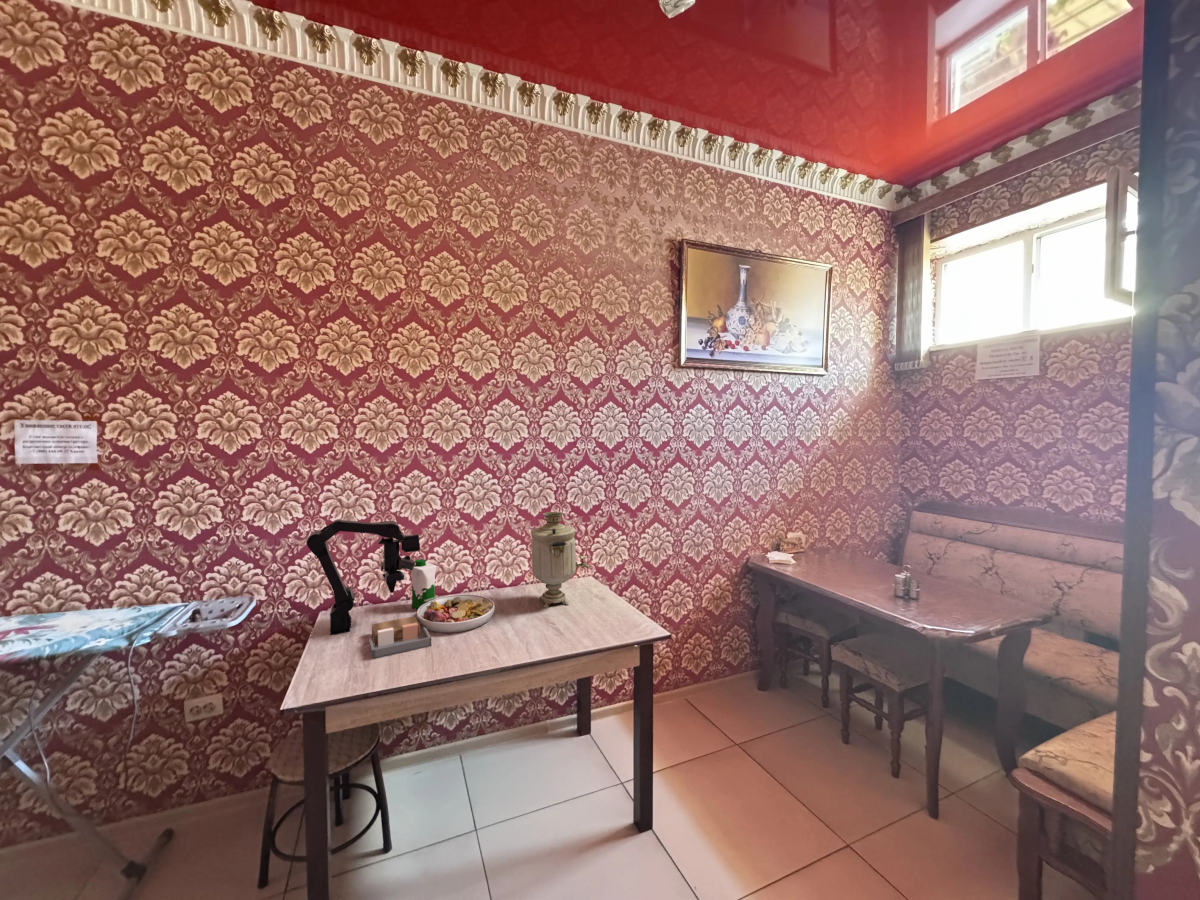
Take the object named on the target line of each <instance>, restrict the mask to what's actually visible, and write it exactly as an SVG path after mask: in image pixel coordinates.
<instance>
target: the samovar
mask: <svg viewBox="0 0 1200 900" xmlns="http://www.w3.org/2000/svg"><path fill="white" fill-rule="evenodd" d="M542 515H543V516H544V518H545V519H544V520H545V522H546V523H545V524H543V525H542V526H538V527H537V526H536V527H535V528H533V529H531V530H530V534H531V538H532V539H531V541H530V542H531V571H532V575H533V576H534V578H535V580H536V579H537V581H539V582H541V583H542V584H544V585H545V588H546V589H547V590H546V591H545V592H543V594H542V595H541V596H539V597H538V601H540V600H541V601H542V602H543V603H544V605H543V607H542V608H544V609H548V608H549V606H550V605H551V604H557V603H559V604H560V603H563V604H565V606H569V605H570V603H569V602H568V601H567V599H566V593H564V592H563V591H562V590H560V589H561V588H562V584H564V583H566V582H567V581H569V580H570V579H571V578H572V577H573V576H574V575H575V573H576V570H577V569H578V567H581V568H583V569H584V568H586V569H590V568H591V567H590V566H589V565H588V564H587V563H585V561H584V559H587V556H586V555H584V554H583V555H581V554H580V555H579V556H577V554H576V550H577V549H576V538H575V535H576V529H577V528H575V527H573V526H570V525H565V524H563V523H561V521H562V516H563V515H564V513H563V512H559V511H548V512H543V513H542ZM576 556H577V557H578V558H579V559H581V563H578V561H577V560H576V559H577V558H576ZM568 604H569V605H568Z"/></svg>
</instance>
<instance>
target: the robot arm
mask: <svg viewBox="0 0 1200 900" xmlns="http://www.w3.org/2000/svg"><path fill="white" fill-rule="evenodd" d="M339 532H346V533H360V534H362V533H363V534H372V535H373V534H374V535H376V536H379V537H381V538H380V539H379V540H378V545H383V555H382V559H383V562H382V563H380V565H379V566H380V568H379V569H380V571H381V572H383V571H384V573H382V577H383V579H384V581H385V583H386V585H387V588H388V590H389V593H390V594H394V593H395V588H396V585H397V582H400V581H404V580H405V574H404V572H403V571H402V570H403V569H404V570H405V569H406V570H409V571H411V570H413V568H414V565H416V561H415V560H413V559H411V556H410V555H407V554H406V555H404V556H403V557H402V556H401V555H400V551H403V552H404V553H412V552H413V553H414V552H415V553H416V552H420V550H421V549H420V547H421V546H420V545H421V543H420V535H419V533H416V534H415V533H414V534H406V535H405V534H404V533H403V531H401V529H400V525H399V524H398V522H397V521H396V520H385V521H378V522H372V521H371V522H370V521H359V520H358V521H357V520H345V519H339V518H337V519H335V520H334V521H333V522H331V523H330V524H328V525H326V526H324V527H323V528H322V529H320V530H314V531H313V532H312V533H311V534H309V536H308V537H307V540H306V546H307V547H308V549H309V550H310V552H311V553H312V554H313V555H314V556H315V558H317V559H318V561H319V563H320V566H321V567H322V570H323V573H324V574H325V576H326V578H327V580H328V583H329V585H330V586H331V587H330V588H331V589H332V591H333V596H334V604H333V605H332V606H331V608H330V613H329V620H330V621H329V623H330V627H329V635H330V636H332V635H333V636H334V635H337V634H342V633H349V632H351V628H352V616H351V614H350V611H352V610H353V608H354V604H355V600H356V593H355V592H354V591H353V587H352V585H349V586H348V587H347V585H346V584H345V583H344V581H343V578H342V577H341V574H340V573H339V570H338V568H337V566H336V563H335V561H334V559H333V556H332V554H331V553H330V548H329V547H330V546H329V540H330V539H331V538H332V537H334V536H335V535H336V534H338V533H339ZM400 544H401V545H400ZM400 548H401V550H400Z"/></svg>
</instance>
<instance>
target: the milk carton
mask: <svg viewBox="0 0 1200 900" xmlns="http://www.w3.org/2000/svg"><path fill="white" fill-rule="evenodd" d="M437 567H438V566H437V565H435V564H433V563H429V562H426V559H424V558H423V559H422V558H421V559H420V558H419V559H416V560H415V565H414V568H413V570H410V572H411V573H410V574H411V609H414V610H418V609H419V608H420V607H421V606H422V605H423V604H425V603H427V602H429V601H431V600H434V599H436V571H437Z"/></svg>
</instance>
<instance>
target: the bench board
mask: <svg viewBox="0 0 1200 900" xmlns="http://www.w3.org/2000/svg"><path fill="white" fill-rule="evenodd" d="M412 623H417V624H418V635H421V626H420V625H421V624H420V623H419V621H418V619H417V617H416V616H415V615H413V616H408V617H403V618H398V619H397V618H396V619H393V620H386V621H382V622H376V623H372V624H371V634H372V638H373V639H372V640H373V644H374V645H375V644H378V630H383V629H388V628H393V629H394V640H398V639H402V625H407V624H412Z"/></svg>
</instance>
